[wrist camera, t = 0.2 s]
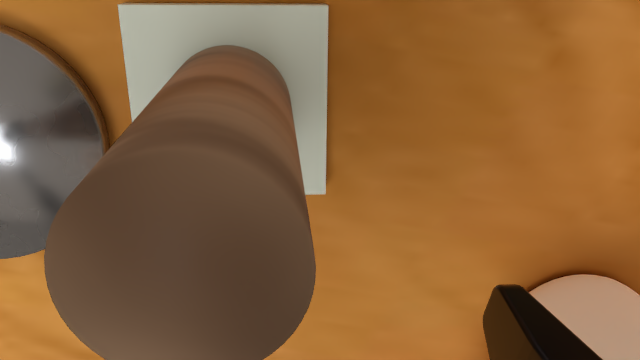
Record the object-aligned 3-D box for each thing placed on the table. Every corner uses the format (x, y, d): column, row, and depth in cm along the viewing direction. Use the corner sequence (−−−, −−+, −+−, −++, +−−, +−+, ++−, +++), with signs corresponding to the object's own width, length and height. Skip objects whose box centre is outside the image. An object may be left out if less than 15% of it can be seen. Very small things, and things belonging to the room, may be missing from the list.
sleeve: (238, 186, 24) (206, 418, 12) (142, 112, 22) (-10, 292, 10) (315, 102, 22) (369, 260, 10) (220, 17, 21) (154, 90, 9)
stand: (323, 185, 25) (325, 194, 24) (146, 189, 24) (141, 198, 23) (326, 3, 22) (328, 5, 21) (124, 2, 21) (117, 4, 20)
